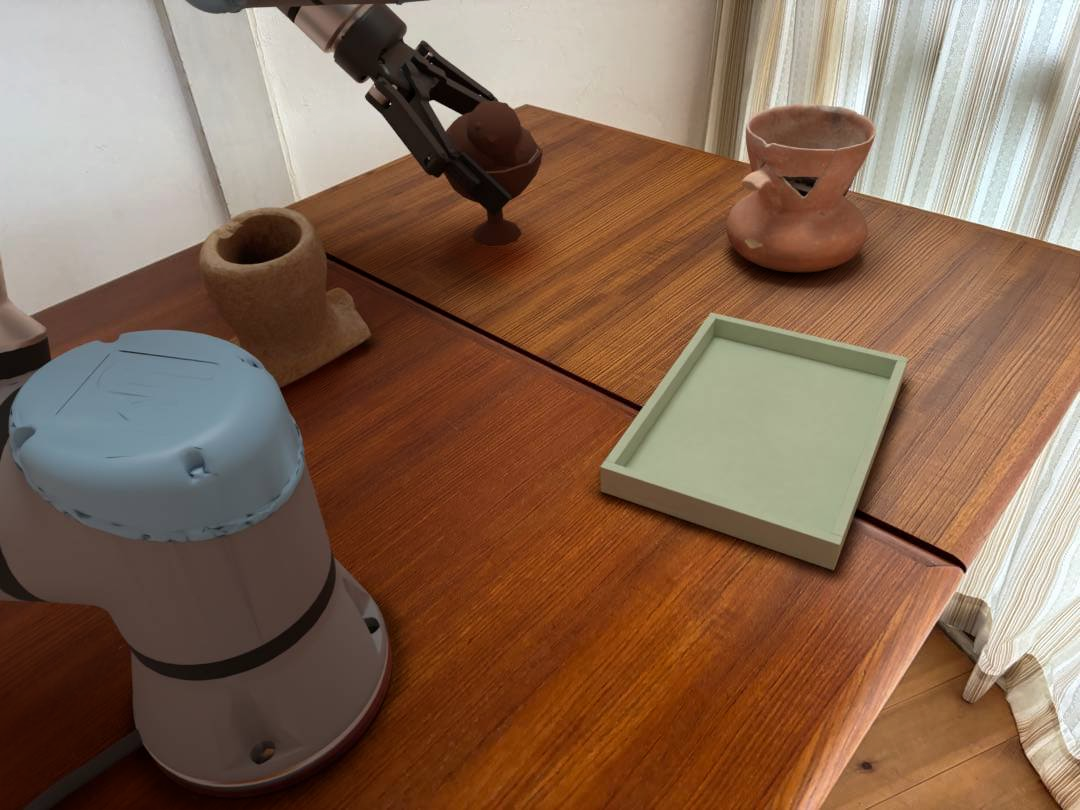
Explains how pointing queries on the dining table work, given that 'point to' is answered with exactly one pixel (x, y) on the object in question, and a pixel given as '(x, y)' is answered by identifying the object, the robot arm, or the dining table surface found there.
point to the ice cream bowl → (496, 161)
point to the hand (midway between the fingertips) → (516, 183)
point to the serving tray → (760, 436)
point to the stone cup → (279, 293)
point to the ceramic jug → (801, 188)
